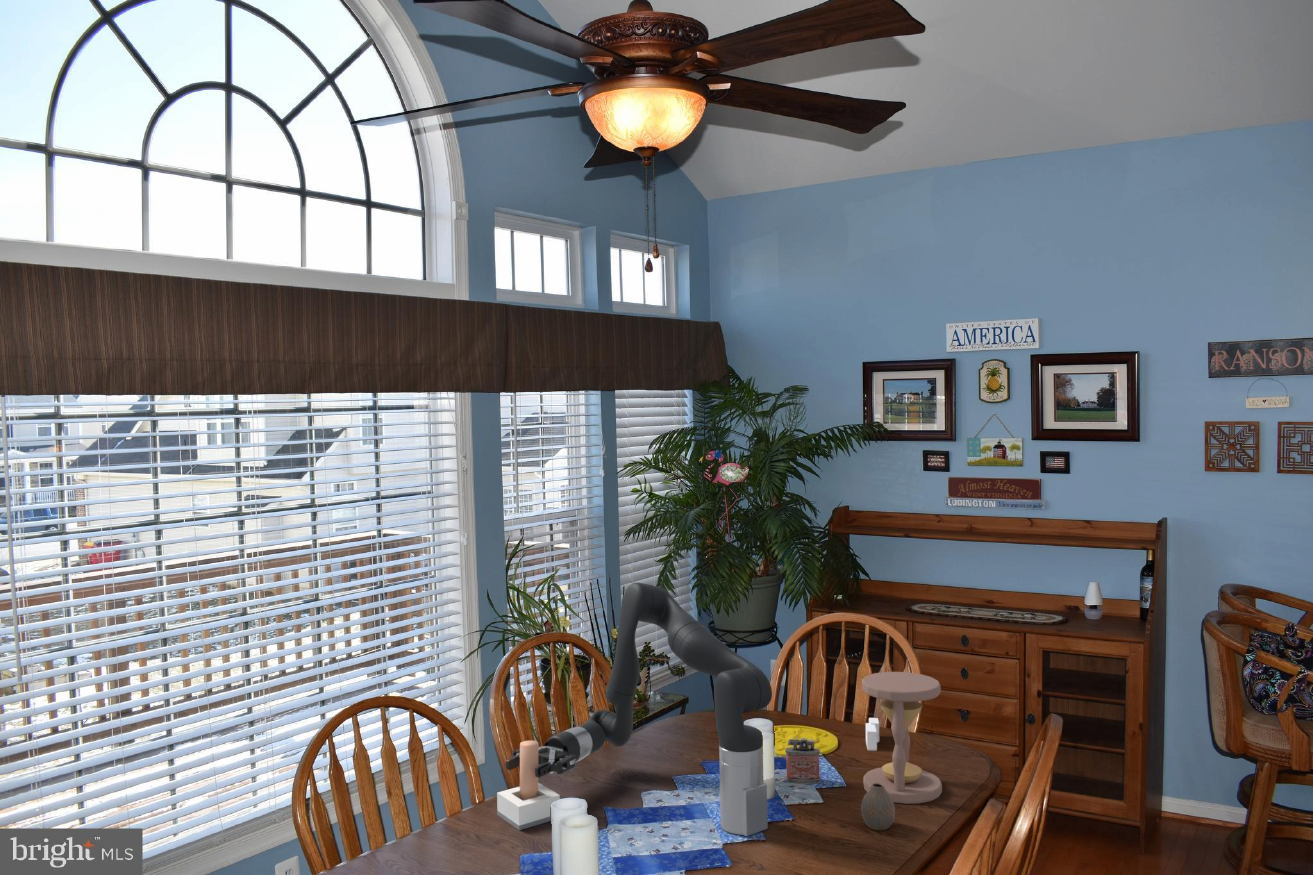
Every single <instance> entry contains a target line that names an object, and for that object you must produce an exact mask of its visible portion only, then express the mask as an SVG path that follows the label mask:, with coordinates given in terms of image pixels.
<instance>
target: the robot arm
mask: <svg viewBox="0 0 1313 875" xmlns="http://www.w3.org/2000/svg"><path fill="white" fill-rule="evenodd" d="M620 605H621V606H620V613H619V620H618V628H617V637H616V638H617V639H616V647H615V654H614V661H613V663H612V664H613V665H612V669H611V672H610V676H609V679H608V683H607V687H606V690H605V698H606V700H607V701H608V702H609V703H610V704H611V705H612V706H613V707H614V709H615V712H614V711H611V710H609V709H598V710H596V711H595V712H594V713H592V715H590V717H589V718H588V719H587V720H586V721H584V723H581V724H580V725H577V726H575V727H571V728H568V729H566V730H564V731H562V732H559V733H556V734H555V735H552V736H550V737H548V739H547V740H546V742H545V743H544V744H543V745H542V746H538V766H537V767H536V768H535V777H537V778H538V779H540V778H541V777H543V776H546V775H548V774H551V775H552V774H554V773H556V774H557V775H562V774H564V773H566V772H567V771H569V770H571V769H573V768H575V767H576V763H578V762H581V761H582V760H583V759H585V758H586V757H587V756H590V755H592V754H593V753H595V752H598V751H599V750H600V749H602V748H603V747H604V744H605V742H606V743H608V744H610V745H612V746H615V747H623V746H625V745H626V744H627V743H628V742H629V741H630V740H631V737H632V734H633V730H634V728H633V727H634V698H635V695H636V692H637V687H638V684H639V681H640V676H641V668H640V666H641V665H640V660H639V655H638V651H637V646H636V631H637V628H638V624H639V622H641V623H646V624H652V625H656V626H658V627H659V628H661V629H662V630H663V631H664V632H666V633H667V643H668V647H669V648H670V651H672V652H673V654H674V655H675V656H677V658H678V659H679V660H680V661H681V662H682V663H684V664H685V665H686V666H687V667H689V668H691V669H693V670H695V671H697V672H700V673H703V674H706V675H708V676H709V675H710V676H713V677H714V678H715V681H714V686H713V699H714V713H715V727H716V731H717V735H718V743H719V744H718V748H719V749H718V751H719V755H718V756H719V804H720V805H719V806H720V807H719V808H720V809H719V810H720V811H719V812H720V827H721V829H722V830H724V831H725V832H727V833H730V834H733V835H734V834H735V835H741V836H744V837H748V836H752V835H754V834H757V833H759V832H763V831H765V830H767V829H768V785H767V783H765V782H764V753H763V735H762V732H761V731H760V730H759V728H757V727H755V726H752V725H747V724H744V717H743V716H744V714H748V713H753V712H757V711H760V710H763V709H765V708H766V707H767V706H768V705H769V704H771V701H772V698H773V689H772V686H771V682H770V680H769V678H768V676H766V674H765V673H764V672H763V670H762V669H761V668H759V667H758V666H756V665H755V664H754V663H752V662H750V661H749V660H747V659H745V658H744V657H742V656H740V654H738V653H736V652H735V651H734V650H732V649H731V648H729V647H728V646H727V645H726V644H725V643H723V642H722V641H721V640H720V639H719V638H717V636H716V635H714V633H712V632H711V631H710V629H707V628H706V627H705V626H704V625H703V624H702V623H701V622H699V621H698V620H697V619H695V618H694V616H692V615H691V614H690V613H688V612H687V611H685V610H684V609H683V607H681V605H680V604H679V603H678V602H677V601H676V600H675V598H674V597H673V595H671V593H669V592H668V590H666V589H664V588H663V587H660V586H658V585H652V584H648V583H642V582H633V583H631V584H630V585H628V586H627V588H626V589H625V592H624V594H623V597H622V601H621V604H620ZM511 754H512V755H511V757H510V758H508V759H507V760H505V769H506V771H512V770H513V769H516V768H518V767H520V748H517V749H516V750H513V751H512V752H511Z"/></svg>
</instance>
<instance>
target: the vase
mask: <svg viewBox="0 0 1313 875" xmlns="http://www.w3.org/2000/svg"><path fill="white" fill-rule="evenodd" d="M860 808H861V809H860V811H861V816H862V819H863V822H864V823H865V824H866V826H867V827H869V829H871V830H873V831H885V830H887V829H889V828H890V827H891V826H892V825H893V822H894V820H895V816H896V806H895V802H893V800H892V798H891V796H890V795H889V794H888V792H887V791H886V790H885V788H884V786H883V785H882V784H880V783H874V784H872V786H871V788H870V790H869V791H868V792H867V791H866V793H865V794H864V796H863V798H862V800H861V805H860Z"/></svg>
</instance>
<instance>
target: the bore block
mask: <svg viewBox="0 0 1313 875" xmlns="http://www.w3.org/2000/svg"><path fill="white" fill-rule="evenodd" d="M560 798H561V797H560V794H558V793H557V792H555V791H554V790H552V789H551V788H548V787H547V786H545V785H543V784H542V783H539V782H538V797H535V798H532V799H528V800H525V801H522V800H521V799H520V786H516V787H513V788H510V789H505V790H502V791H499V792H496V801H497V803H496V806H497V808H496V810H497V812H496V813H497V816H498V817H500V819H502V820H504V821H505V822H506V823H508V824H509V825H511V826H512V827H513V828H515V829H516V830H518V831H521V830H525V829H528V828H532V827H535V826H539V825H542V824H545V823H548V822H551V818H550V807H551V804H552V802H554V801H557V800H559V799H560ZM560 800H561V799H560Z"/></svg>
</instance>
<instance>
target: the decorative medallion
mask: <svg viewBox="0 0 1313 875" xmlns="http://www.w3.org/2000/svg"><path fill="white" fill-rule="evenodd" d="M773 726H774V731H775V732H774V733H775V754H776V756H775V757H777V756H785V757H786V753H785V749H786V748H790V747H794V745H788V740H789V739H798V740H801V739H802V738H806V739H807V740H814V748H818V749H819V750H820V754H825V755H827V754H830V753H832V752H834V751H835V750H836V749H838V746H839V740H838V737H837V736H836V735H834V734H833V733H831V732H829V731H827V730H824V729H821V728H817V727H812V726H806V725H794V724H793V725H792V724H791V725H789V724H784V725H782V724H781V725H773ZM797 747H799V746H797ZM809 747H810V746H809ZM810 748H811V747H810ZM785 757H784V758H785Z"/></svg>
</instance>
